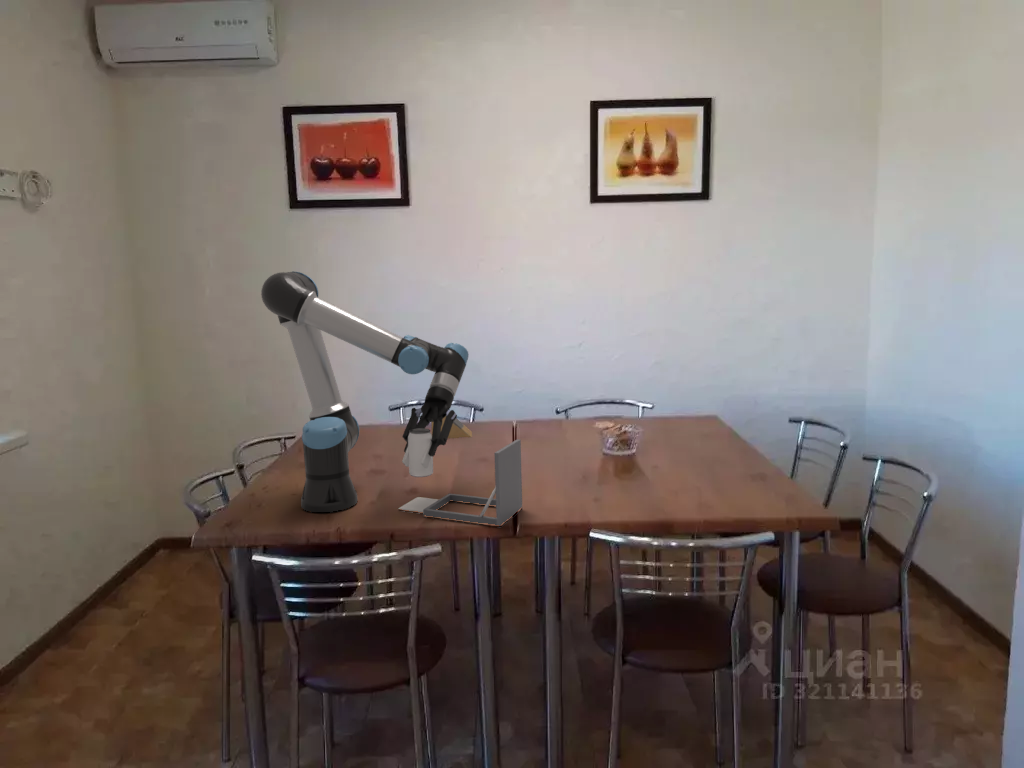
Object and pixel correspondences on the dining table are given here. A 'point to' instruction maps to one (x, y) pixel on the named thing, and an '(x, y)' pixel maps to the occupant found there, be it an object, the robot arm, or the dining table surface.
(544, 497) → the dining table surface
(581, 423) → the dining table surface
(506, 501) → the grey frame and panel
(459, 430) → the sandwich container
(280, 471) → the dining table surface
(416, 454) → the can
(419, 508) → the pad
